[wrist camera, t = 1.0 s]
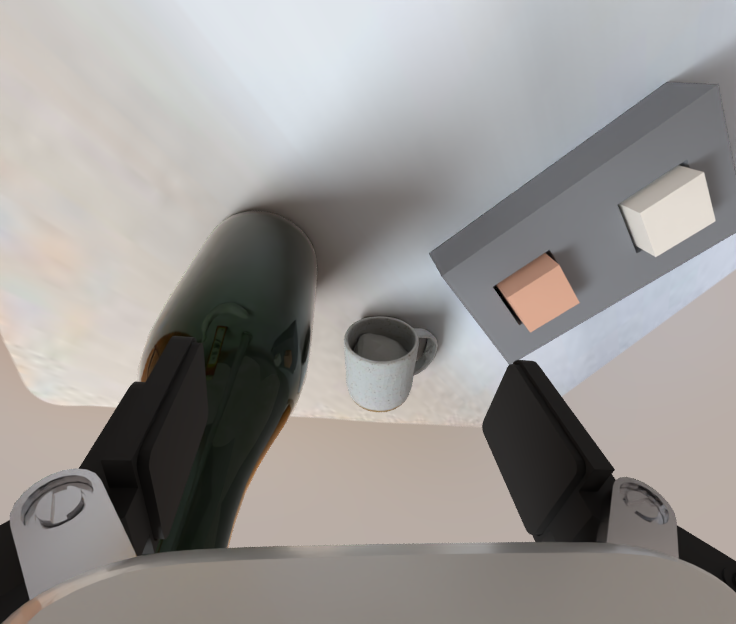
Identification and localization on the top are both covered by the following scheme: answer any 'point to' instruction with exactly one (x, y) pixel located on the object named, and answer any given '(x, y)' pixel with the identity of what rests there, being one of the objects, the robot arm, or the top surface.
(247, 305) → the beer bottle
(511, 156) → the top surface
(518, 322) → the key panel
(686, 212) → the white key
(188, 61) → the top surface
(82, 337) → the top surface
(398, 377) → the ceramic mug
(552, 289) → the light orange cube
